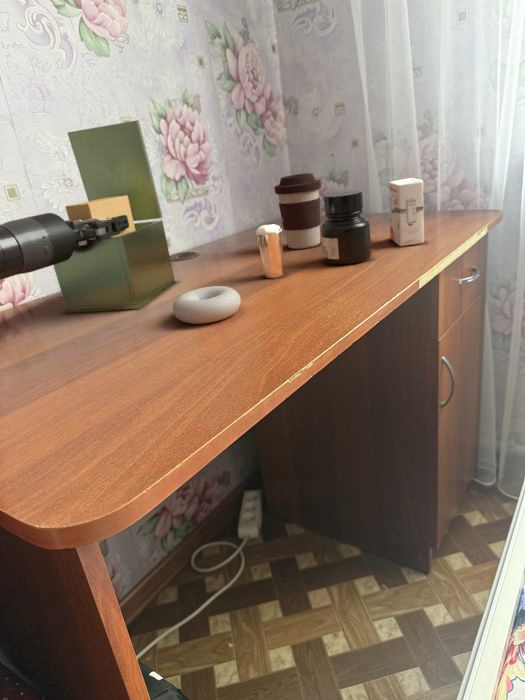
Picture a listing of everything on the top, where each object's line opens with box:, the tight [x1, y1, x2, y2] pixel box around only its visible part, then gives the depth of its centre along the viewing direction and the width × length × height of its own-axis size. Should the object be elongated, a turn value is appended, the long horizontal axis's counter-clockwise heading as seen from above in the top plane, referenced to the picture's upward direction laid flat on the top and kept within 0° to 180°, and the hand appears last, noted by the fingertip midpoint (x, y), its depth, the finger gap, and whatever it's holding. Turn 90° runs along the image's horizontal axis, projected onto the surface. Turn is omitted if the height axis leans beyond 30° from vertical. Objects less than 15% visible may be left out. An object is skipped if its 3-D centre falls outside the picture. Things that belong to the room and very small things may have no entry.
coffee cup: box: [274, 172, 322, 250], centre depth 109 cm, size 10×10×15 cm
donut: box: [172, 285, 242, 325], centre depth 73 cm, size 10×4×10 cm
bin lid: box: [67, 119, 163, 222], centre depth 89 cm, size 16×14×1 cm
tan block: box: [65, 196, 135, 238], centre depth 85 cm, size 9×5×10 cm, turn 151°
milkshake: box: [255, 218, 284, 279], centre depth 88 cm, size 4×5×10 cm
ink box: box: [388, 177, 425, 247], centre depth 99 cm, size 9×5×12 cm, turn 0°
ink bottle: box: [320, 190, 372, 266], centre depth 91 cm, size 10×9×12 cm
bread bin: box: [53, 219, 176, 314], centre depth 88 cm, size 16×14×12 cm
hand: (113, 222), depth 87 cm, fingers closed on tan block, 5 cm apart
